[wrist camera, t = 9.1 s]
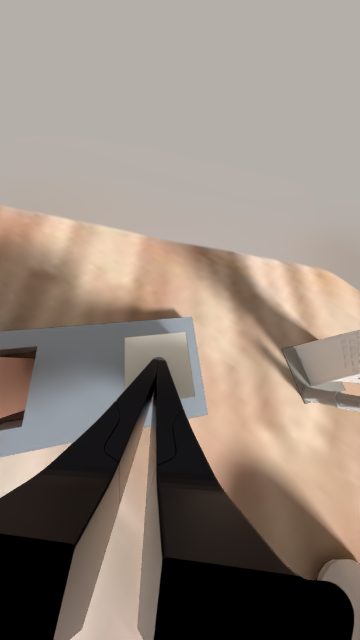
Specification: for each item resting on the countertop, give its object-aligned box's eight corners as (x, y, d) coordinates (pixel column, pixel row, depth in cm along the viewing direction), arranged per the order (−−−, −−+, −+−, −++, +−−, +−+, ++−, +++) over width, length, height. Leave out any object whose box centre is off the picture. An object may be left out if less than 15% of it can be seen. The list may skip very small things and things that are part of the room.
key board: (187, 323, 18) (192, 316, 16) (200, 406, 15) (208, 414, 13) (-211, 357, 12) (-313, 355, 10) (-321, 506, 9) (-512, 562, 7)
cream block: (175, 344, 17) (186, 330, 10) (180, 383, 16) (196, 398, 9) (139, 348, 16) (122, 336, 9) (140, 389, 15) (122, 411, 8)
